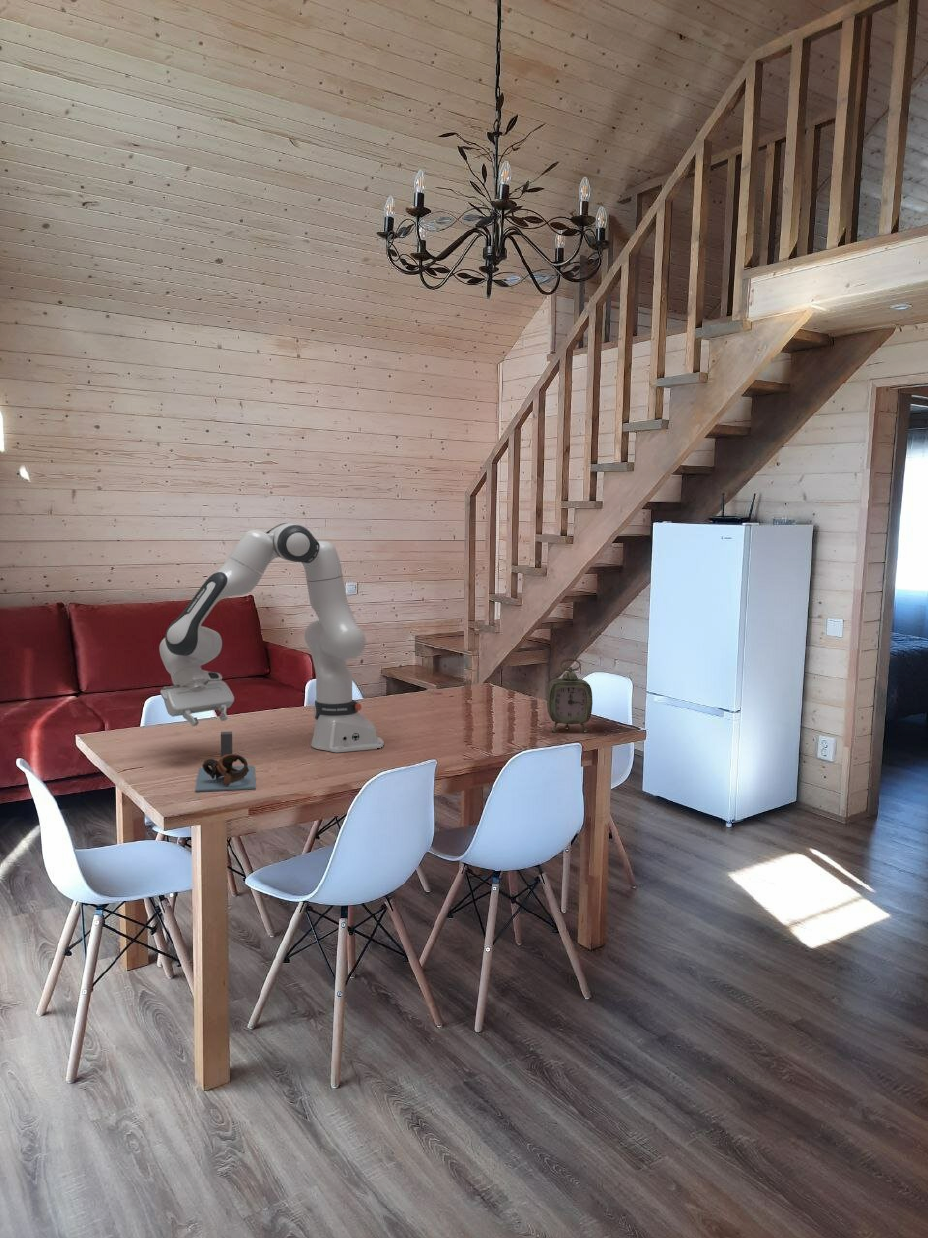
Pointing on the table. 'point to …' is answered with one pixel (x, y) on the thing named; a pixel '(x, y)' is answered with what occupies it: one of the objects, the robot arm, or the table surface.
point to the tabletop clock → (569, 699)
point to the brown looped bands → (226, 768)
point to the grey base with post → (215, 784)
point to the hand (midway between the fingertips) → (210, 722)
